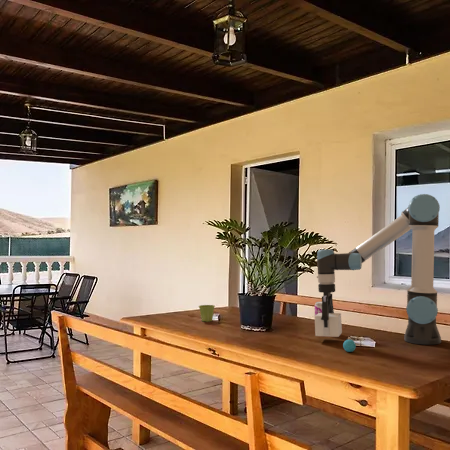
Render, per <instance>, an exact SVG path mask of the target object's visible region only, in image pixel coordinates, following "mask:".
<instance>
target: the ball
mask: <svg viewBox="0 0 450 450" xmlns="http://www.w3.org/2000/svg"><path fill="white" fill-rule="evenodd" d="M356 346H357V345H356V342H355V341H354V340H353V339H346V340H344V342H343V344H342V347H343V350H344V351H346V352H347V353H353V352H354V351H355V350H356V348H357V347H356Z"/></svg>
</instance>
